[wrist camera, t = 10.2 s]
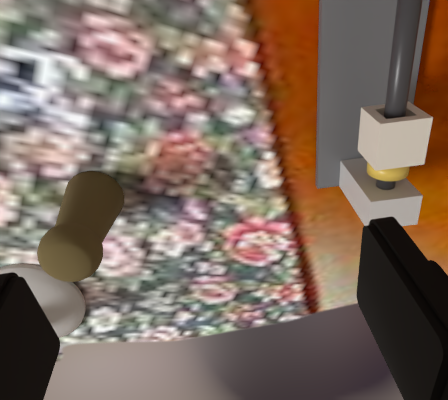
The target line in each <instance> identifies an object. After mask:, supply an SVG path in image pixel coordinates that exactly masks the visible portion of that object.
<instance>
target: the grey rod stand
mask: <svg viewBox="0 0 448 400" xmlns="http://www.w3.org/2000/svg"><path fill="white" fill-rule="evenodd" d="M429 1H430V0H319V42H318V92H317V143H316V186H317V188H326V187H334V186H340V188H341V190H342V191H343V193H344V194H345V196H346V197H347V199H348V200H349V202H350V204H351V205H352V207H353V208H354V210H355V211H356V213H357V214H358V216H359V218H360V219H361V221H362V222H363V224H364V225H365V226H367V225H369V222H370V220H372V219H377V218H384V217H391V216H392V217H394V218H395V219H396V220H397V221H398V222H399V224H400V225H401V226H407V225H415V224H417V222H418V217H419V212H420V207H421V202H422V197H423V195H422V194H421V193H420V192H419V191H418V190H417V189H416V188H415V187H414V186H413V185H412V184H411V183H410V182H409V181H408V180H407V179H406V177H407V176H408V174H409V168H410V166H408V167H401V168H393V169H385V170H377V171H375V170H374V169H373V168H372V166H371V165H370V164H369V163H368V162H367V161H366V159H365V158H364V157H363V156H362V155H361V154H360V153H359V151H358V139H359V127H360V115H361V107H367V106H375V105H382V104H385V110H384V117H385V118H386V119H391V118H399V117H405V116H406V109H407V103H408V101H409V102H410V103H412V104H413V103H414V97H415V90H416V84H417V77H418V71H419V65H420V58H421V52H422V46H423V39H424V33H425V26H426V20H427V14H428V7H429Z"/></svg>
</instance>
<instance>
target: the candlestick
mask: <svg viewBox="0 0 448 400" xmlns="http://www.w3.org/2000/svg"><path fill="white" fill-rule="evenodd" d="M11 272H14V273H16V274H17V275H18V276H19V277H23V278H24V279H25V280H26V282H27V284H28V285H29V287H30V289H31V291H32V292H33V294H34V296H35V297H36V299H37V301H38V303H39V304H40V306H41V308H42V310H43V311H44V313H45V315H46V317H47V318H48V320H49V322H50V323H51V325H52V327H53V329H54V330H55V332H56V334H57V336H58V338H60V337H63V336H65V335H68V334H69V333H71V332H73V331H74V330H75V329H76V328H77V327H78V326H79V325H80V323H81V322H82V320H83V318H84V314H85V310H86V304H85V299H84V297H83V295H82V293H81V291H80V290H79V288H78V287H77V286H76V285H75V284H74V283H73V282H64V281H61V280H57V279H55V278H53V277H51V276H49V275H48V274H47V273H46V272H45V271H44V270H43V269H42V267H41V266H37V265H31V264H13V265H7V266H3V267H0V274H4V273H11Z"/></svg>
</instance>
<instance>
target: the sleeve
mask: <svg viewBox="0 0 448 400" xmlns="http://www.w3.org/2000/svg"><path fill="white" fill-rule="evenodd" d="M384 110H385V104H382V105H375V106H367V107H361V115H360V127H359V139H358V151H359V153H360V154H361V155H362V156H363V157H364V158H365V159H366V161H367V162H368V163H369V164H370V165H371V166H372V168H373V169H374V170H375V171H377V170H385V169H393V168H401V167H408V166H416V165H424V163H425V158H426V152H427V147H428V142H429V136H430V131H431V126H432V120H433V117H432V116H430V115H429V114H427V113H426V112H424V111H422V110H421V109H419V108H418V107H416V106H415V105H413V104H412V103H410V102H409V101H408V103H407V109H406V116H405V117H399V118H391V119H386V118H385V117H384Z"/></svg>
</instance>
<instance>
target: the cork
mask: <svg viewBox="0 0 448 400" xmlns="http://www.w3.org/2000/svg"><path fill="white" fill-rule="evenodd" d="M123 204H124V193H123V190H122V188H121V186H120V185H119V184H118V183H117V181H116V180H114V179H113V178H112V177H110V176H109V175H106V174H104V173H101V172H95V171H87V172H81V173H79V174H77V175H76V176H74V177H73V178H72V179H71V180H70V181H69V182H68V185H67V188H66V191H65V194H64V198H63V201H62V204H61V208H60V211H59V215H58V218H57V222H56V225H55V227H53V228H51V229H50V230H49V231H48V232H47V233H46V234H45V235H44V236H43V237H42V239H41V241H40V244H39V247H38V252H37V254H38V261H39V263H40V265H41V267H42V269H43V270H44V271H45V272H46V273H47V274H48V275H49V276H51V277H53V278H55V279H57V280H61V281H64V282H76V281H81V280H83V279H85V278H87V277H89V276H91V275H92V274H93V273H94V272H95V271H96V270H97V269H98V267H99V265H100V263H101V261H102V257H103V245H102V242H103V240H104V238H105V237H106V235H107V233H108V232H109V230H110V228H111V226H112V225H113V223H114V221H115V219H116V218H117V216H118V214H119V213H120V211H121V209H122V207H123Z"/></svg>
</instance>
